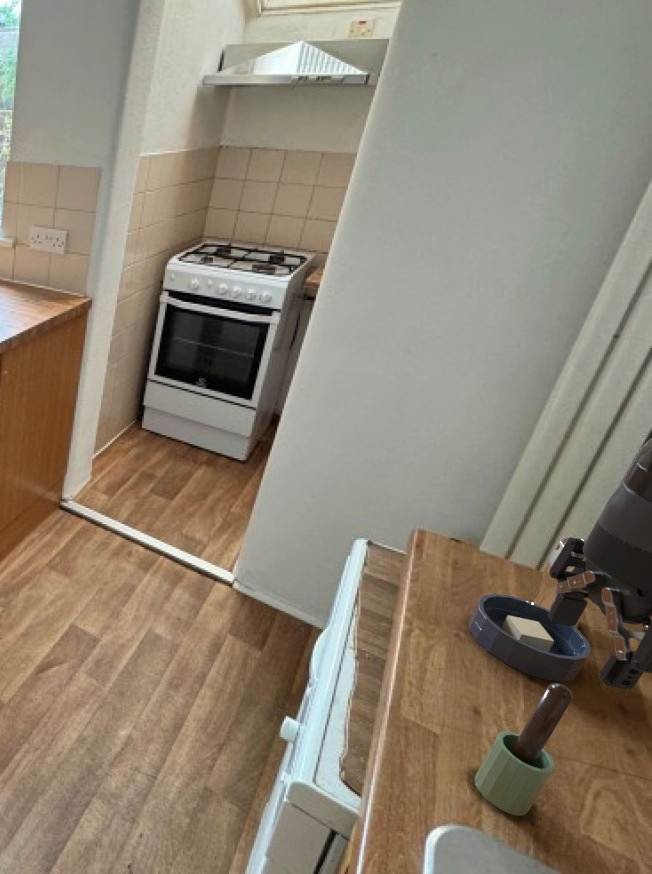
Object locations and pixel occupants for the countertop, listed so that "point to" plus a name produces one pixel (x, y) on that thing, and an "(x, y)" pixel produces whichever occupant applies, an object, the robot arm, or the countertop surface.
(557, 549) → the beer glass
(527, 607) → the bowl
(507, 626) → the block
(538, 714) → the stir stick
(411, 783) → the countertop surface
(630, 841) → the countertop surface
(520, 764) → the pot
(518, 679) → the countertop surface
